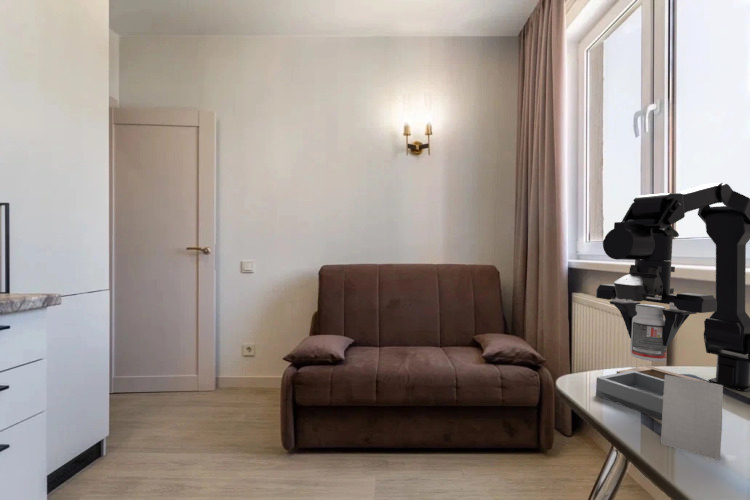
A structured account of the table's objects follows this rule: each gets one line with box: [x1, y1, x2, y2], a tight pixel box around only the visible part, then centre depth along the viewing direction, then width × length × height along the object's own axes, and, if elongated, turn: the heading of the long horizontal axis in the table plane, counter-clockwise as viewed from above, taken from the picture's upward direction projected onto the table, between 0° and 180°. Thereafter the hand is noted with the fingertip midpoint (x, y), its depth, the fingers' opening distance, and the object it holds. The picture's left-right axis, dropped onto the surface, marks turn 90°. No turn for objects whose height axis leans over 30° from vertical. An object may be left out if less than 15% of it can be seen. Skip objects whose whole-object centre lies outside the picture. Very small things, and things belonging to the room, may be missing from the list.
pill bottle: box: [629, 303, 668, 362], centre depth 77 cm, size 6×6×10 cm
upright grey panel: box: [660, 375, 724, 460], centre depth 60 cm, size 4×7×10 cm, turn 53°
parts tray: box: [595, 371, 664, 421], centre depth 77 cm, size 12×12×4 cm
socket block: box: [615, 365, 710, 383], centre depth 87 cm, size 12×12×2 cm
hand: (648, 342), depth 77 cm, fingers closed on pill bottle, 6 cm apart
